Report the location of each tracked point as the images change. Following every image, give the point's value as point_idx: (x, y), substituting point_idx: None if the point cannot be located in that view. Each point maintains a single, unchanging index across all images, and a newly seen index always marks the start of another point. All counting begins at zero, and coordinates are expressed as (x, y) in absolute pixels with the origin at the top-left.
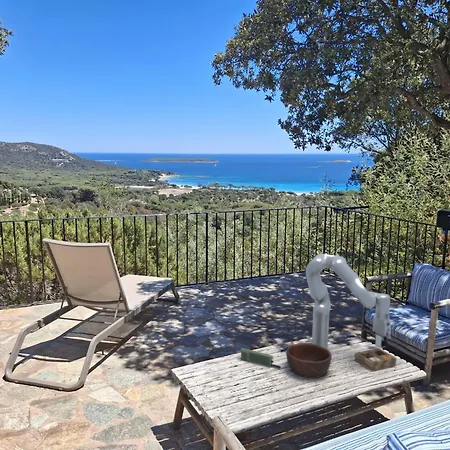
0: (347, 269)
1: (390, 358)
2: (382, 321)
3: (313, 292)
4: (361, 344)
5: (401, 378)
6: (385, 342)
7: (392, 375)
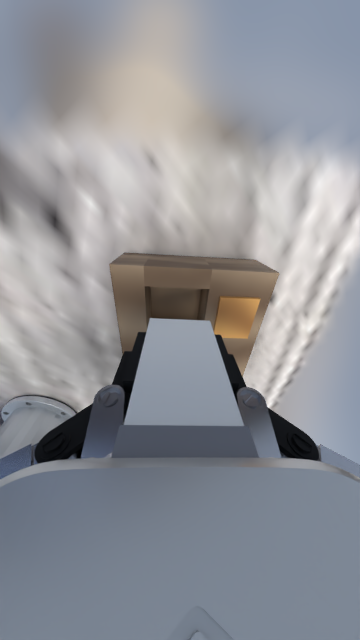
0: None
1: (258, 312)
2: None
3: None
4: None
5: (323, 326)
6: (239, 380)
7: (287, 337)
